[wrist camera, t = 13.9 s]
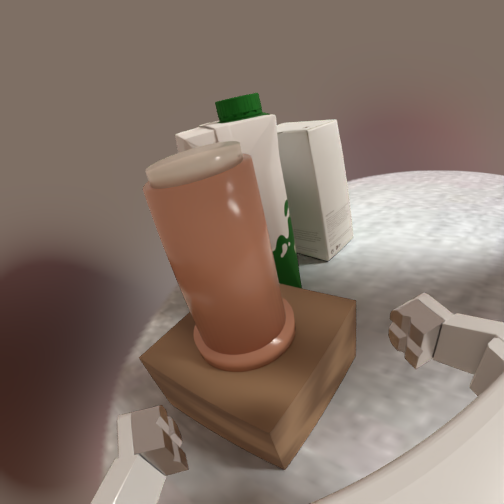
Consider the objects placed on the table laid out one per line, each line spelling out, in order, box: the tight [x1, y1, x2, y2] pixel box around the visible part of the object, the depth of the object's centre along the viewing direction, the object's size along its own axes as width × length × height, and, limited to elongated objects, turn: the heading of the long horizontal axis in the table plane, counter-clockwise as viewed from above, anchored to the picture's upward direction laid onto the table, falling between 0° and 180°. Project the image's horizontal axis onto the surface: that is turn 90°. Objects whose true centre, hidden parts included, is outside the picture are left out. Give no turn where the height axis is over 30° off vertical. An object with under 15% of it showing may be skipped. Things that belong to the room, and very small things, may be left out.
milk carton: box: [175, 93, 302, 289], centre depth 30 cm, size 9×9×20 cm
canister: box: [143, 141, 296, 372], centre depth 17 cm, size 7×7×12 cm
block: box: [139, 284, 356, 470], centre depth 22 cm, size 11×11×6 cm
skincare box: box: [277, 120, 353, 261], centre depth 37 cm, size 8×7×16 cm
